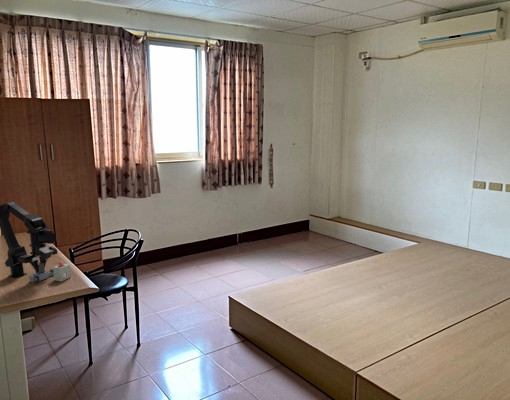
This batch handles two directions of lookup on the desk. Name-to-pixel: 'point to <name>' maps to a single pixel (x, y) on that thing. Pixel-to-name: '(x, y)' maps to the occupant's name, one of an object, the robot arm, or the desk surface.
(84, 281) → the desk surface
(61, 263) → the button
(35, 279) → the rail
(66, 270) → the cabinet
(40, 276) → the carriage
